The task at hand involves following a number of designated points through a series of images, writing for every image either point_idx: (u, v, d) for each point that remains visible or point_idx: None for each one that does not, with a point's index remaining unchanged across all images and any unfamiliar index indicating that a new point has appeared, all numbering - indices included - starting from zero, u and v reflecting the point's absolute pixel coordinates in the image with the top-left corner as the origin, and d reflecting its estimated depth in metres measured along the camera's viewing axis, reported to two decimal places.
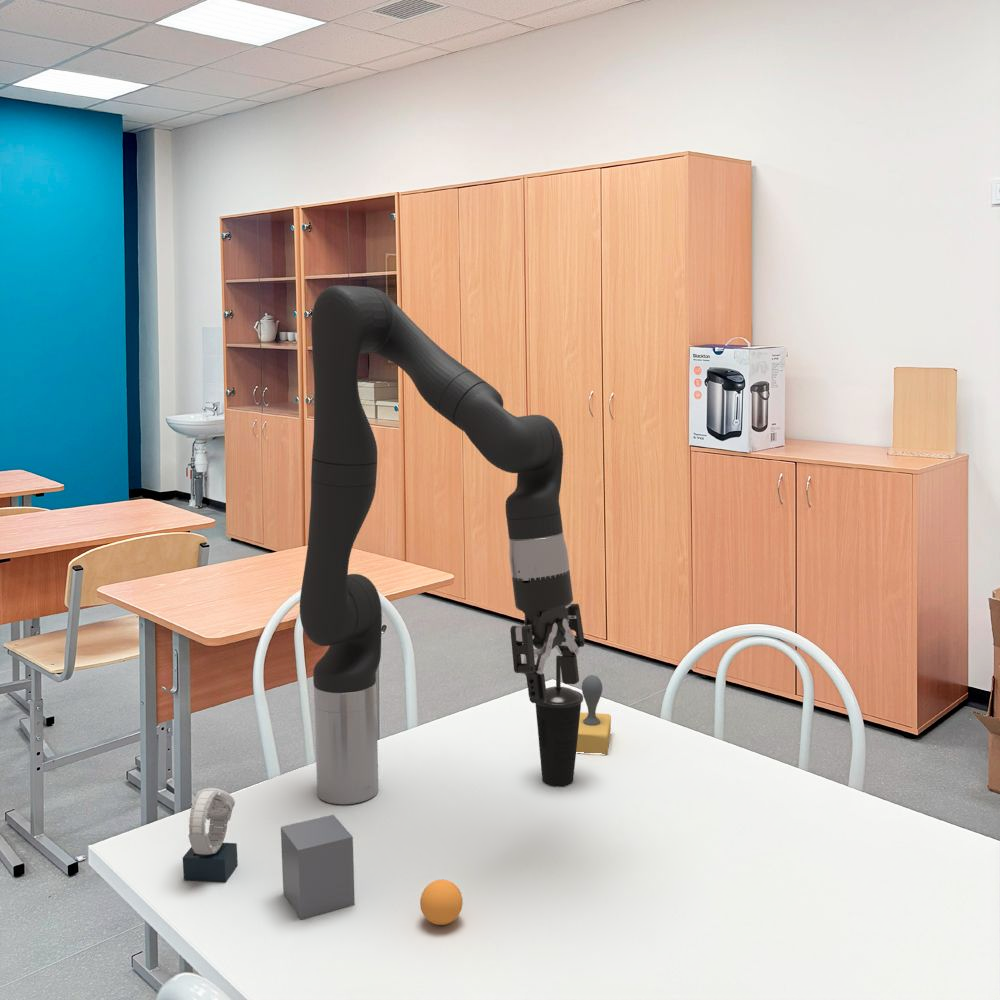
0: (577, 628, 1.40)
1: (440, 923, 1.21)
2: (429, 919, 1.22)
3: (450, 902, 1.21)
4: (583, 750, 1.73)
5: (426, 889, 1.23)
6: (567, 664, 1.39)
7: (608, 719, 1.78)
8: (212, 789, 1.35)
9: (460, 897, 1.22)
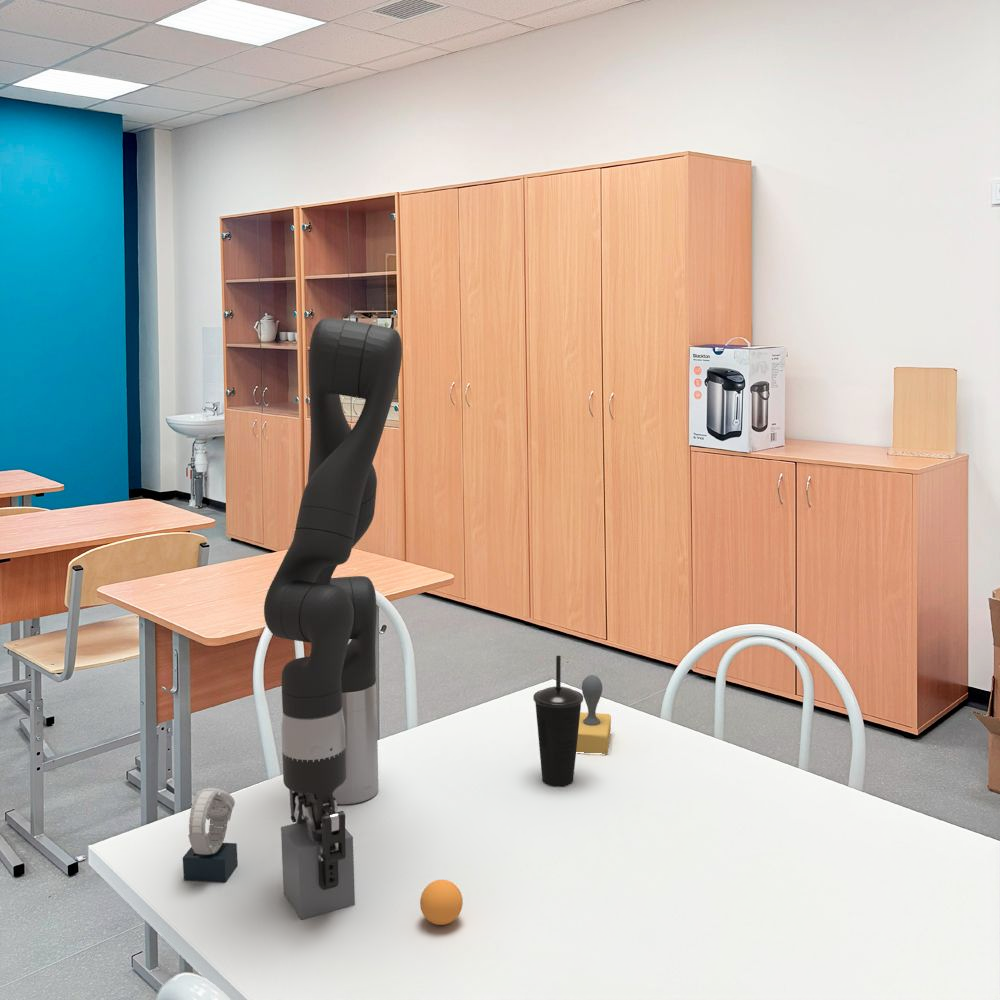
0: (323, 839, 1.22)
1: (440, 923, 1.21)
2: (429, 919, 1.22)
3: (450, 902, 1.21)
4: (583, 750, 1.73)
5: (426, 889, 1.23)
6: None
7: (608, 719, 1.78)
8: (212, 789, 1.35)
9: (460, 897, 1.22)
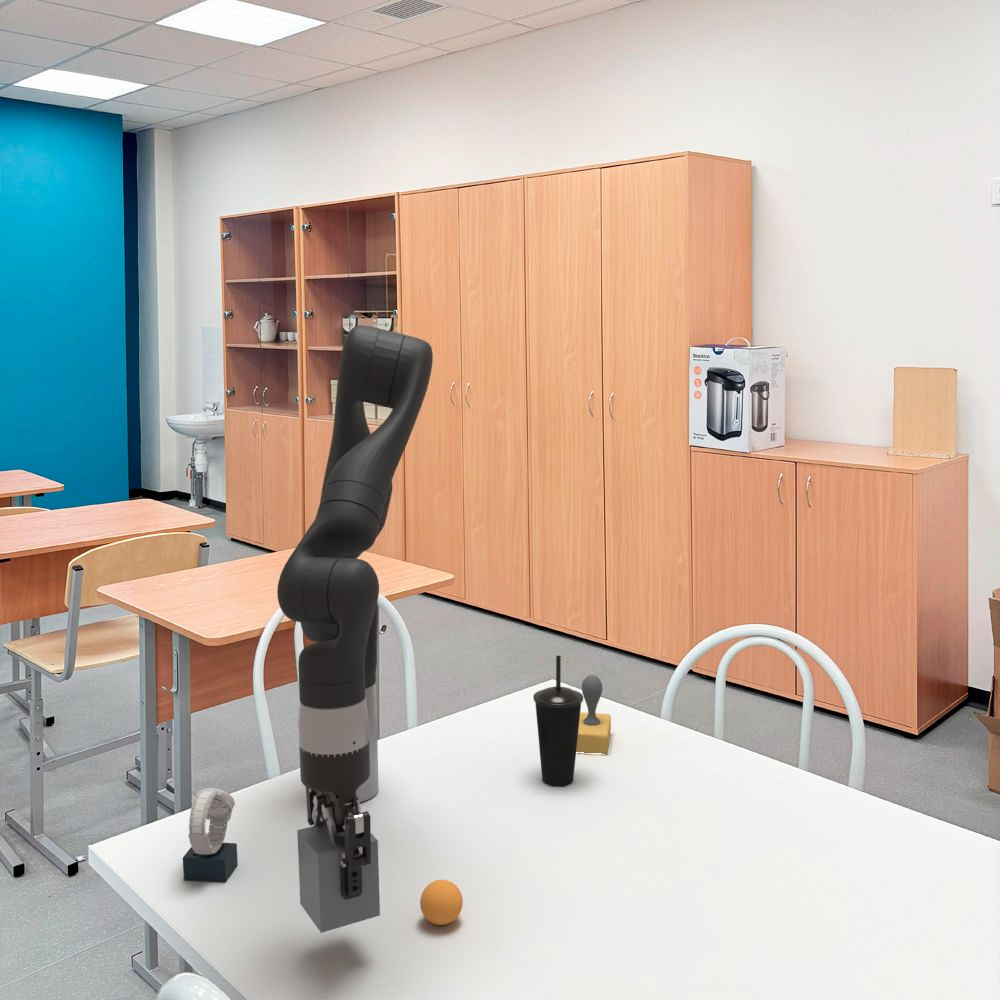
0: (345, 843, 1.10)
1: (440, 923, 1.21)
2: (429, 919, 1.22)
3: (450, 902, 1.21)
4: (583, 750, 1.73)
5: (426, 889, 1.23)
6: None
7: (608, 719, 1.78)
8: (212, 789, 1.35)
9: (460, 897, 1.22)
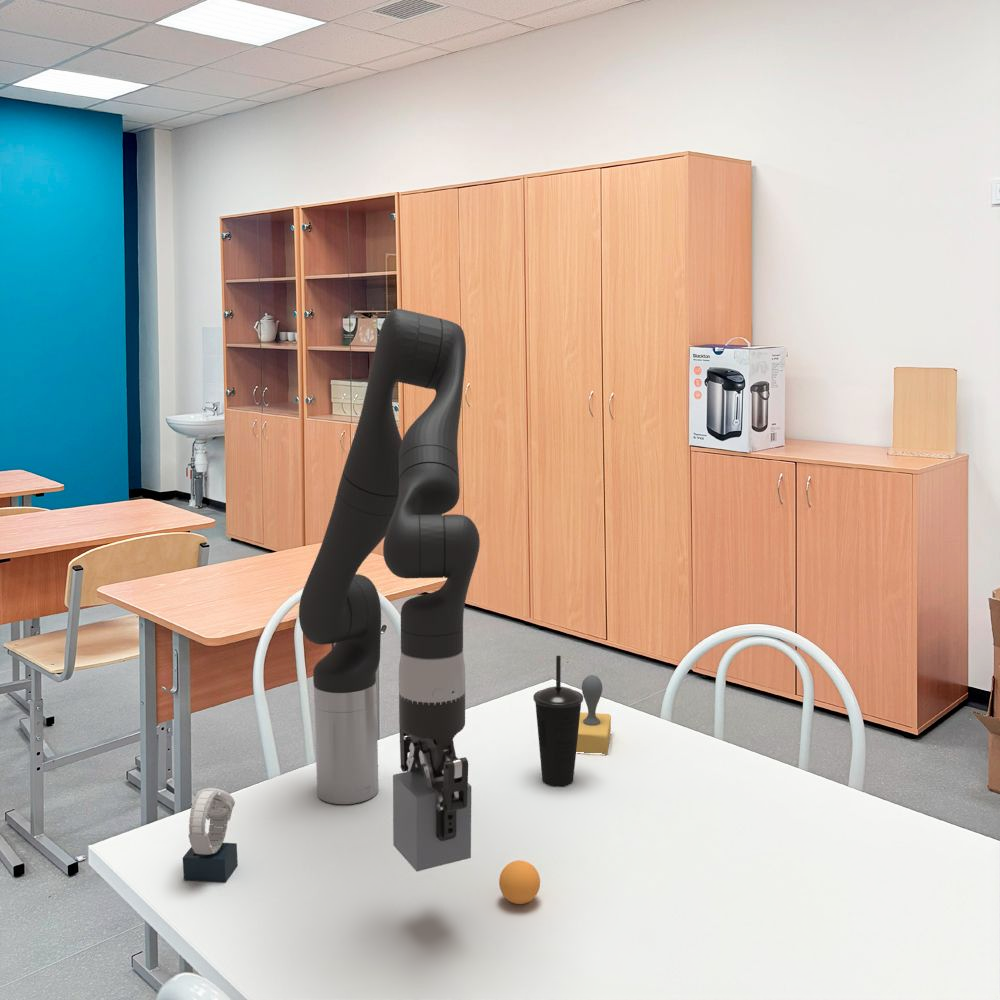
0: (444, 787, 1.15)
1: (539, 882, 1.27)
2: None
3: (521, 896, 1.25)
4: (583, 750, 1.73)
5: None
6: None
7: (608, 719, 1.78)
8: (212, 789, 1.35)
9: (511, 884, 1.25)
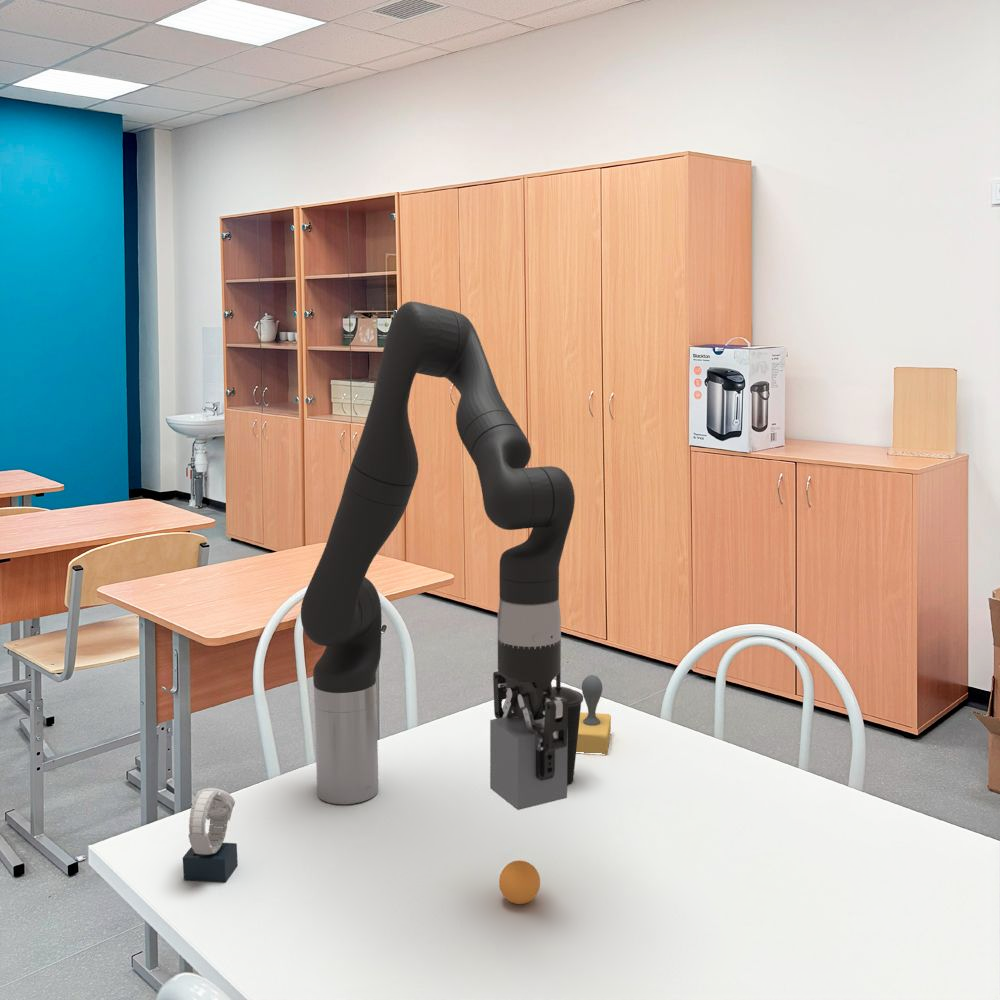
0: (544, 727, 1.20)
1: (539, 882, 1.27)
2: None
3: (521, 896, 1.25)
4: (583, 750, 1.73)
5: None
6: None
7: (608, 719, 1.78)
8: (212, 789, 1.35)
9: (511, 884, 1.25)
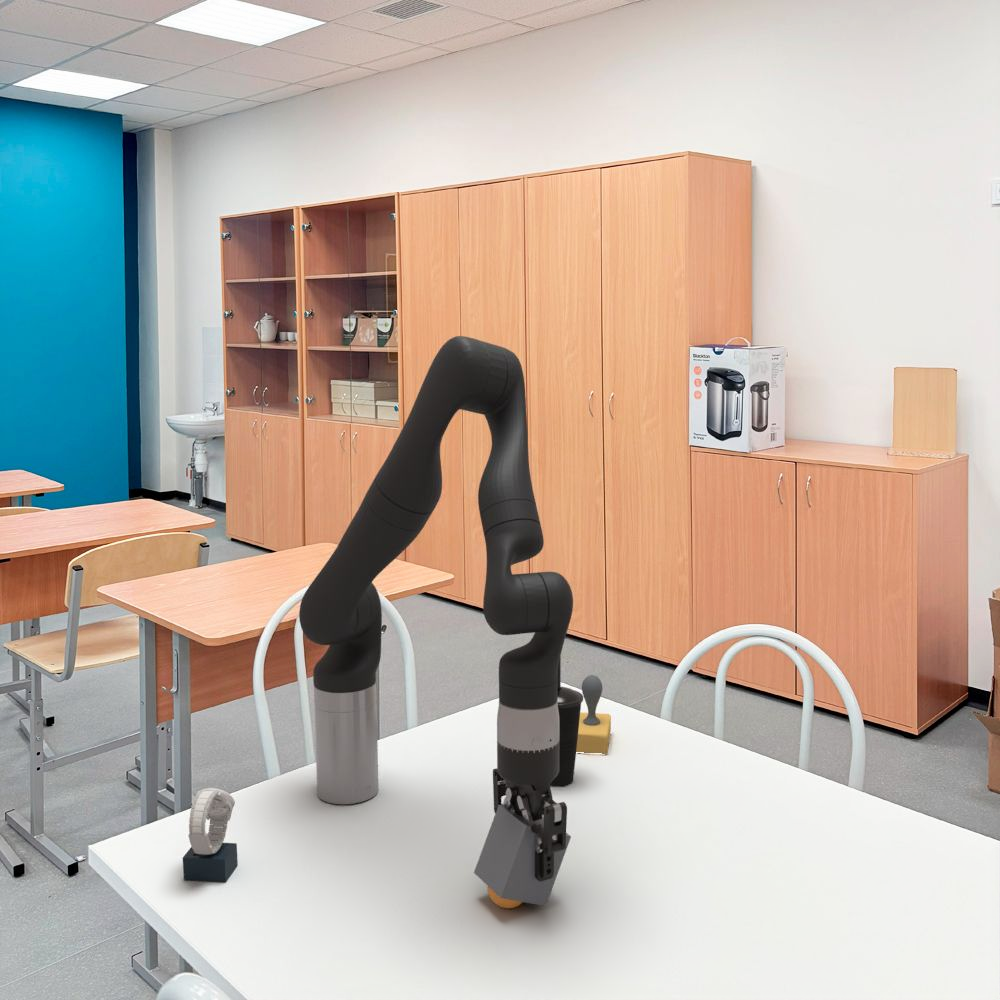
0: (544, 830, 1.22)
1: None
2: None
3: (513, 904, 1.25)
4: (583, 750, 1.73)
5: None
6: None
7: (608, 719, 1.78)
8: (212, 789, 1.35)
9: (499, 899, 1.25)
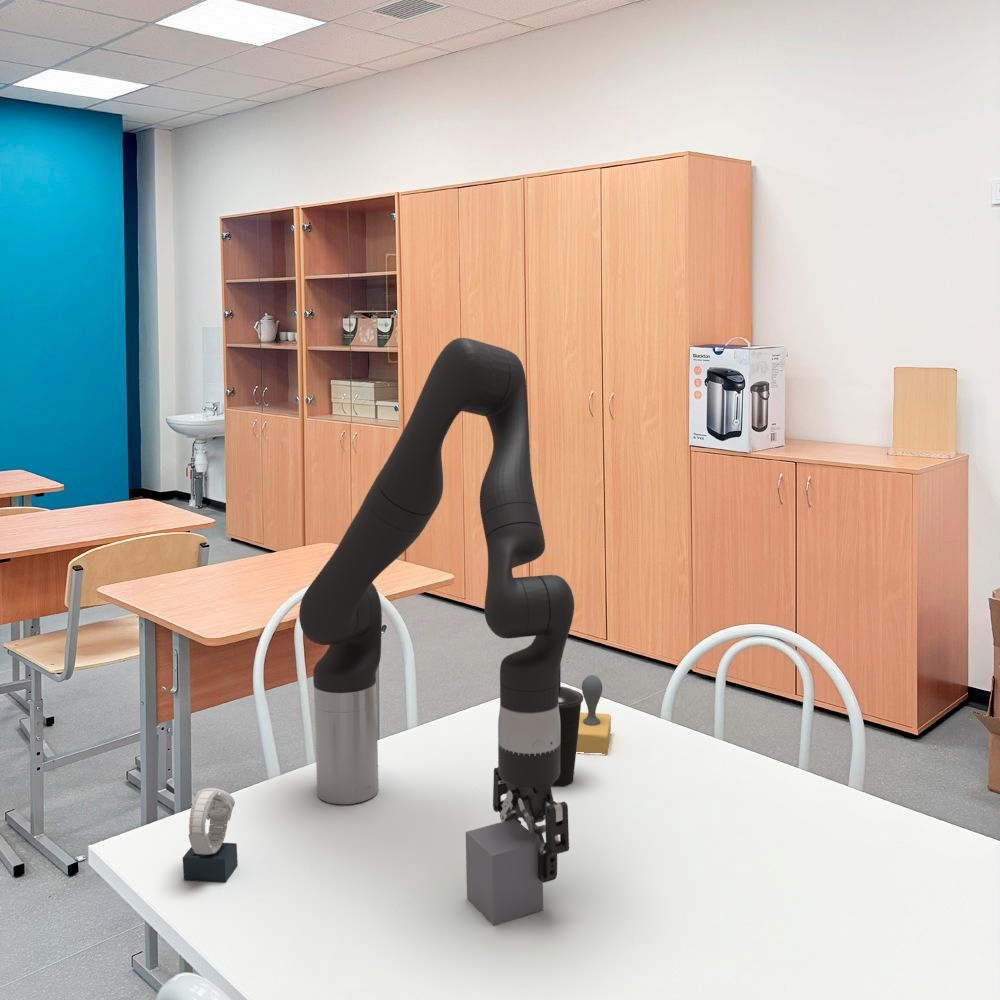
0: (546, 831, 1.22)
1: None
2: None
3: None
4: (583, 750, 1.73)
5: None
6: None
7: (608, 719, 1.78)
8: (212, 789, 1.35)
9: None
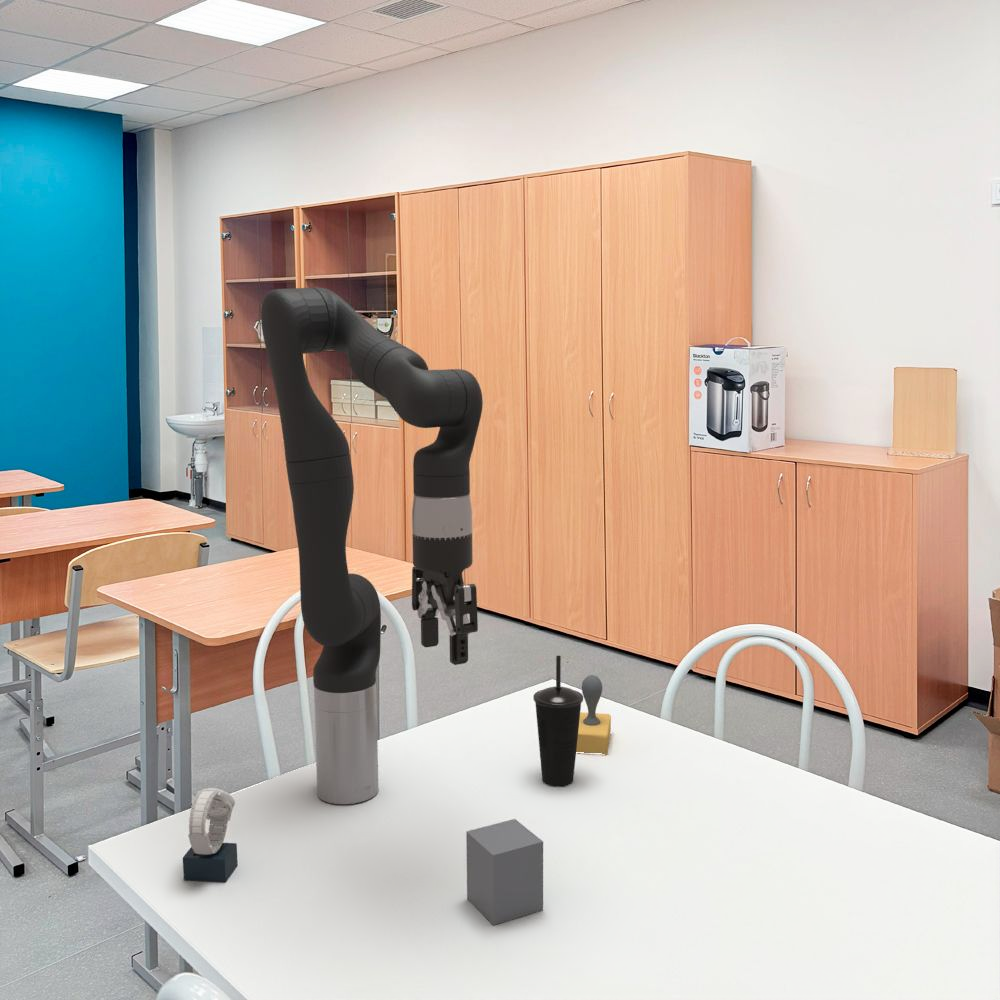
0: (455, 611, 1.27)
1: None
2: None
3: None
4: (583, 750, 1.73)
5: None
6: None
7: (607, 719, 1.78)
8: (212, 789, 1.35)
9: None
